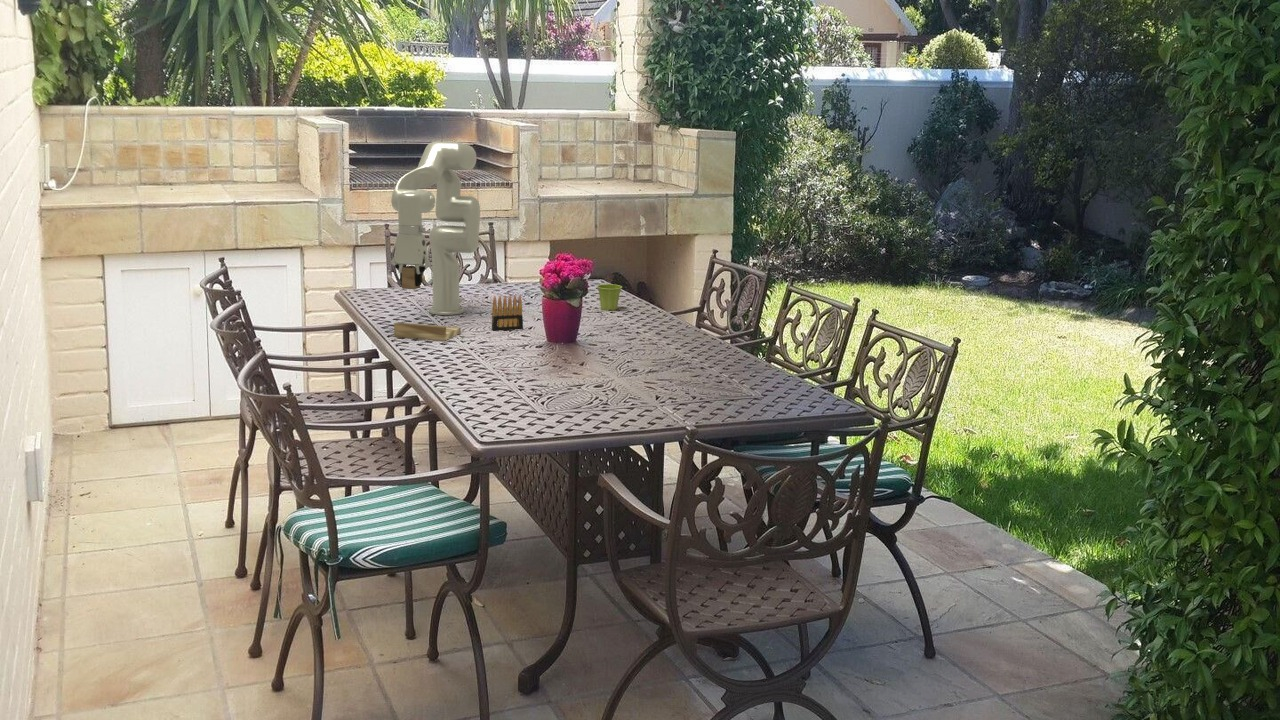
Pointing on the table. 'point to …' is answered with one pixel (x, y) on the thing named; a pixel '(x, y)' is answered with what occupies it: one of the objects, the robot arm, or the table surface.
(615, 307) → the plant pot
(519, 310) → the ammunition clip
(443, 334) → the board
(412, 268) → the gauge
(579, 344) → the table surface
